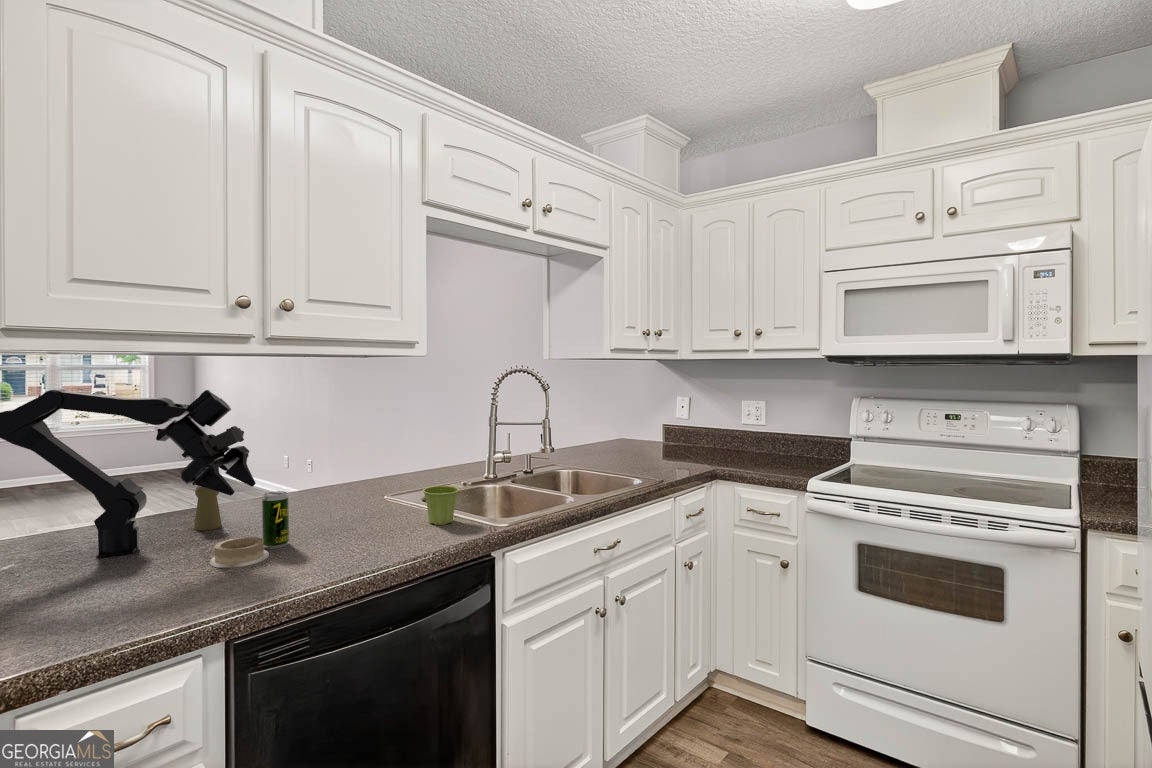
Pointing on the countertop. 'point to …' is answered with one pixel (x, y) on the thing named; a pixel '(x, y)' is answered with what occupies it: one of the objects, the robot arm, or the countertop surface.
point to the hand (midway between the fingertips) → (243, 489)
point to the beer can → (275, 519)
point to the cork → (207, 509)
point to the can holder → (239, 552)
